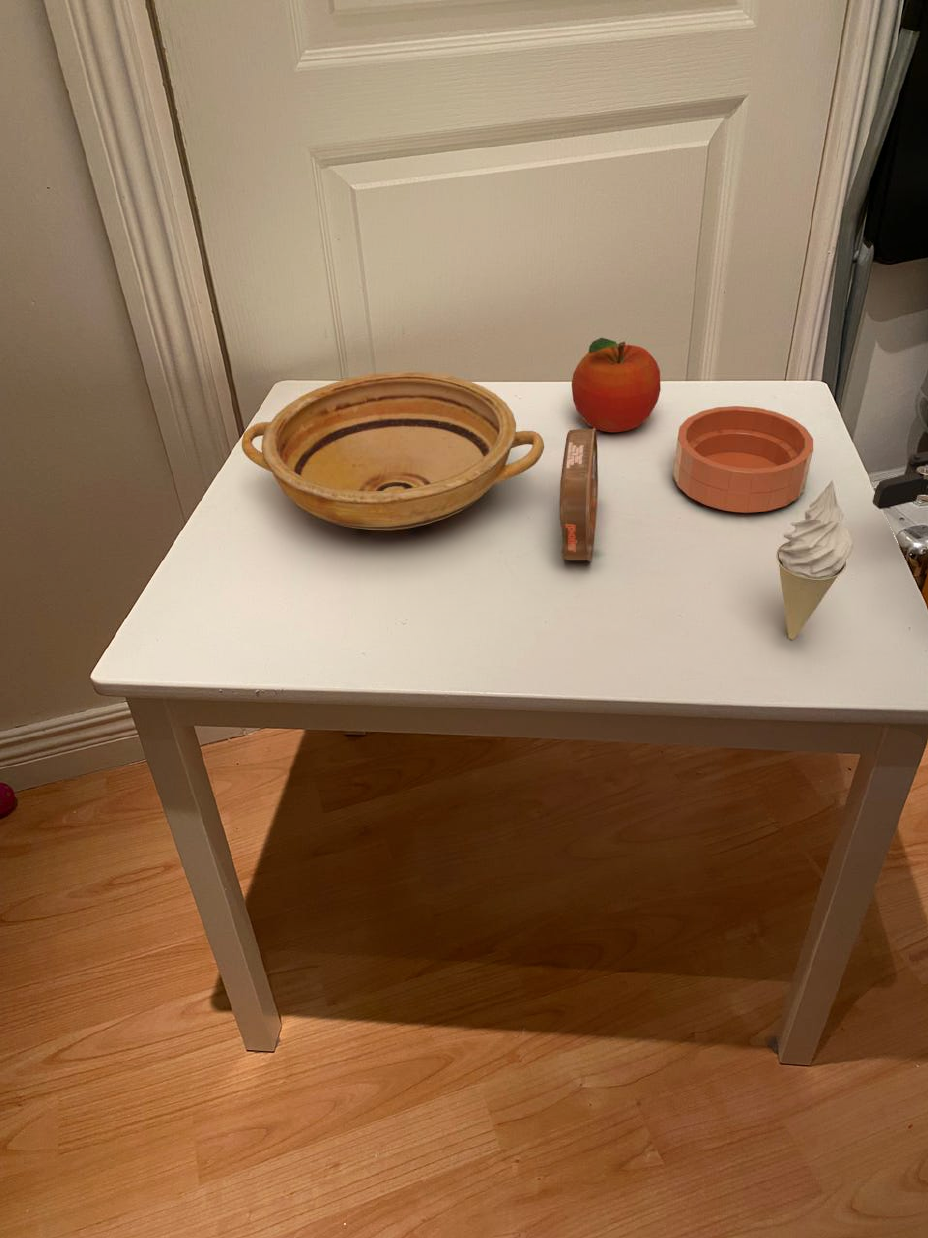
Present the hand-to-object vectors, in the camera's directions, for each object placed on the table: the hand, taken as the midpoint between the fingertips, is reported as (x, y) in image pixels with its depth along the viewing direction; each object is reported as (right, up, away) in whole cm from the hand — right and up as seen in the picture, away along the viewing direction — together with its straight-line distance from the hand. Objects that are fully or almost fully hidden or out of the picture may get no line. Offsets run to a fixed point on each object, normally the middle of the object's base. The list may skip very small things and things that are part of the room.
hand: (911, 525), depth 72 cm
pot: (-7, +7, +22) cm, 24 cm away
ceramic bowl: (-41, +5, +23) cm, 47 cm away
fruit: (-18, +14, +32) cm, 39 cm away
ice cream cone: (-8, -9, +4) cm, 12 cm away
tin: (-23, +1, +17) cm, 29 cm away
